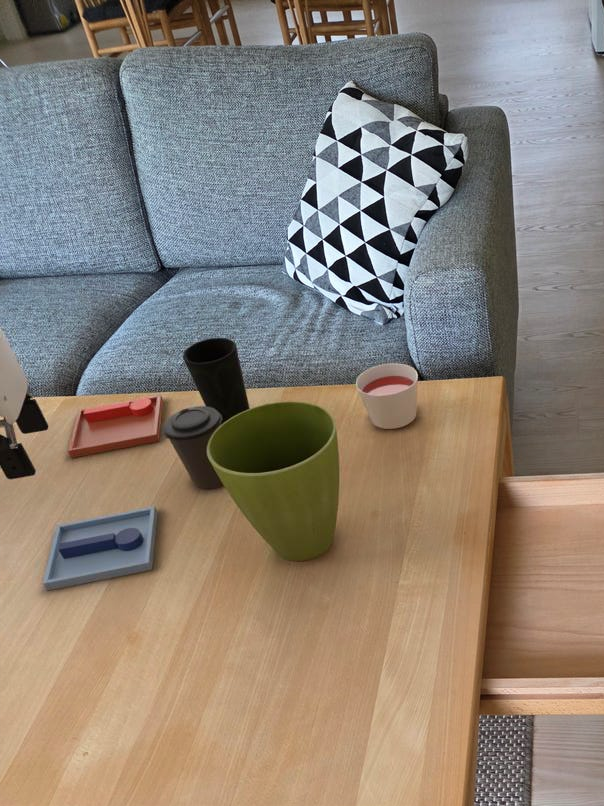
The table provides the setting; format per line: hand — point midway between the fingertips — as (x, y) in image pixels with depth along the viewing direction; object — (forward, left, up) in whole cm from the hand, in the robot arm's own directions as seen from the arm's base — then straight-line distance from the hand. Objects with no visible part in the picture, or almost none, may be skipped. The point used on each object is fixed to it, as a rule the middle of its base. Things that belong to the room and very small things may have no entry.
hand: (29, 452), depth 103 cm
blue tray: (+3, -1, -15) cm, 15 cm away
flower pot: (+29, -8, -15) cm, 34 cm away
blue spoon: (+3, -1, -15) cm, 15 cm away
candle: (+44, +18, -15) cm, 50 cm away
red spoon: (+2, +34, -15) cm, 37 cm away
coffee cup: (+17, +11, -15) cm, 25 cm away
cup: (+20, +25, -15) cm, 35 cm away
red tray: (+2, +30, -15) cm, 34 cm away
